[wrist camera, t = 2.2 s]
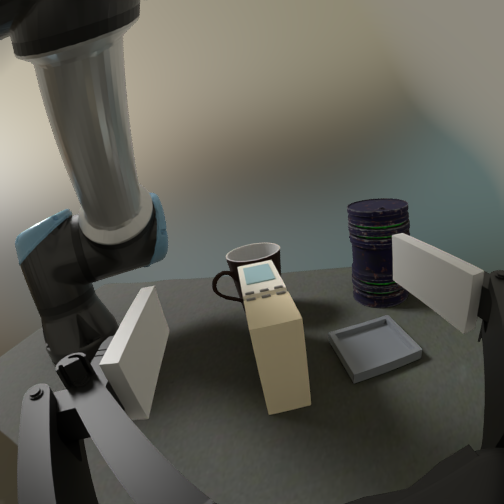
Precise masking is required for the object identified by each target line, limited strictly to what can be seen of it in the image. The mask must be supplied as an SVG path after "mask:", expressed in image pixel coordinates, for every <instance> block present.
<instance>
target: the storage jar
mask: <svg viewBox="0 0 504 504" xmlns="http://www.w3.org/2000/svg"><path fill="white" fill-rule="evenodd" d="M347 212H348V213H349V215H348V221H349V222H348V228H349V232H350V236H349V238H350V242H351V243H352V251H353V264H352V283H353V288H354V291H353V295H354V299H355V300H356V301H357V302H358V303H360V304H362V305H364V306H368V307H373V308H387V307H392V306H396V305H398V304H400V303H402V302H404V301H405V300H406V299H407V297H408V294H409V291H407V290H406V289H404V288H403V287H402V286H400V285H399V284H398V283H396V282H395V281H394V280H393V253H392V235H395V234H400V233H404V234H406V235H409V236H410V233H409V228H410V223H409V222H410V221H409V213H408V202H406V201H404V200H399V199H384V198H383V199H369V200H362V201H358V202H354V203H351V204H349V205H348V206H347Z"/></svg>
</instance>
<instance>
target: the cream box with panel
mask: <svg viewBox="0 0 504 504" xmlns="http://www.w3.org/2000/svg"><path fill="white" fill-rule="evenodd" d="M237 268H238V273H239V279H240V284H241V289H242V295H243V300H244V301H247V300H246V299H248V298H253V297H255V298H261V296H262V295H267V294H271V295H275V294H276V292H281V291H286V292H287V290H286V286H285V284H284V282H283V281H282V279H281V277H280V275H279V273H278V271H277V269H276V267H275V266H274V264H273V262H272V260H268V261H264V262H259V263H254V264H249V265H244V266H239V267H237Z"/></svg>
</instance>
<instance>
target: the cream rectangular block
mask: <svg viewBox="0 0 504 504" xmlns="http://www.w3.org/2000/svg"><path fill="white" fill-rule="evenodd" d="M246 300H247V301H244V306H245V311H246V316H247V322H248V327H249V332H250V336H251V341H252V345H253V349H254V354H255V358H256V363H257V367H258V371H259V376H260V380H261V384H262V389H263V393H264V397H265V401H266V406H267V410H268V414H269V415H271V414H276V413H281V412H285V411H289V410H293V409H297V408H301V407H305V406H309V405H311V396H310V385H309V375H308V365H307V355H306V346H305V337H304V328H303V320H302V317H301V315H300V313H299V311H298V309H297V307H296V305H295V303H294V302H293V300H292V298H291V296H290V294H289V292H286V291H281V292H276V294H275V295H271V294H267V295H262V296H261V298H255V297H253V298H248V299H246Z"/></svg>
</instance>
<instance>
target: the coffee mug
mask: <svg viewBox="0 0 504 504" xmlns="http://www.w3.org/2000/svg"><path fill="white" fill-rule="evenodd" d="M226 259H227V263H228V265H229V268H230V271H222V272H220V273H218V274H217V275H216V276H215V278H214V279H213V282H212V288H213V290H214V292H215V293H216V294H217V295H219V296H220V297H222V298H225V299H228V300H233V301H239V302H241V303H242V305H243V308H244V311H245V306H244V300H243V295H242V289H241V284H240V279H239V273H238V268H237V267H239V266H244V265H249V264H254V263H259V262H264V261H268V260H272V262H273V264H274V266H275V267H276V269H277V271H278V273H279V275H280V277H281V265H280V247H279V245H277V244H274V243H255V244H249V245H245V246H242V247H239V248H236V249H234V250H232V251H230V252H229V253H228V254H227V255H226ZM223 275H229V276H231V277H232V278H233V280H234V283H235V286H236V288H237V291H238V294H239V297H240V298H236V297H230V296H226V295H223V294H221V293H220V292H218V290H217V288H216V284H217V281H218V279H219V278H220V277H221V276H223ZM245 313H246V311H245Z"/></svg>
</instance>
